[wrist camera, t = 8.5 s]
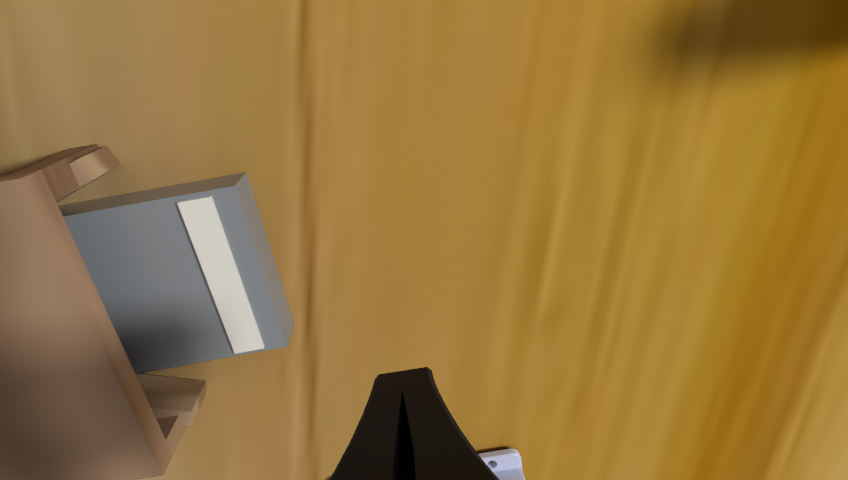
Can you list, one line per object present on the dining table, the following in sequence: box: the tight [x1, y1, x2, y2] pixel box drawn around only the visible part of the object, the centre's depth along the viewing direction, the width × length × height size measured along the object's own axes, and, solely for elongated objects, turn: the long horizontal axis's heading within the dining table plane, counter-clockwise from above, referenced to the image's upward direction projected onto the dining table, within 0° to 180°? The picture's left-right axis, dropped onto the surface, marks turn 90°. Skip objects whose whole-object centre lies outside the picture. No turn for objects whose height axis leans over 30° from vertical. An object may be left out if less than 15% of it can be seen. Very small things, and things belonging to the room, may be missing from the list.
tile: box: [58, 172, 294, 374], centre depth 21 cm, size 11×7×2 cm, turn 99°
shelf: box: [0, 144, 206, 480], centre depth 19 cm, size 8×12×4 cm, turn 8°
